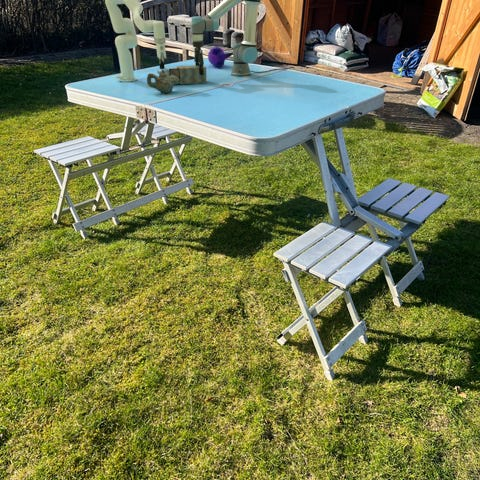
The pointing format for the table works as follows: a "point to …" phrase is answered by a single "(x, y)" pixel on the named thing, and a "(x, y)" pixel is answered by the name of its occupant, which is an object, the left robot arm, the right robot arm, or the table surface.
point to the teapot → (162, 81)
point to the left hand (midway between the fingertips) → (162, 68)
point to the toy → (218, 56)
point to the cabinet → (192, 75)
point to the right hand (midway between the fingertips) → (199, 73)
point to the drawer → (172, 72)
